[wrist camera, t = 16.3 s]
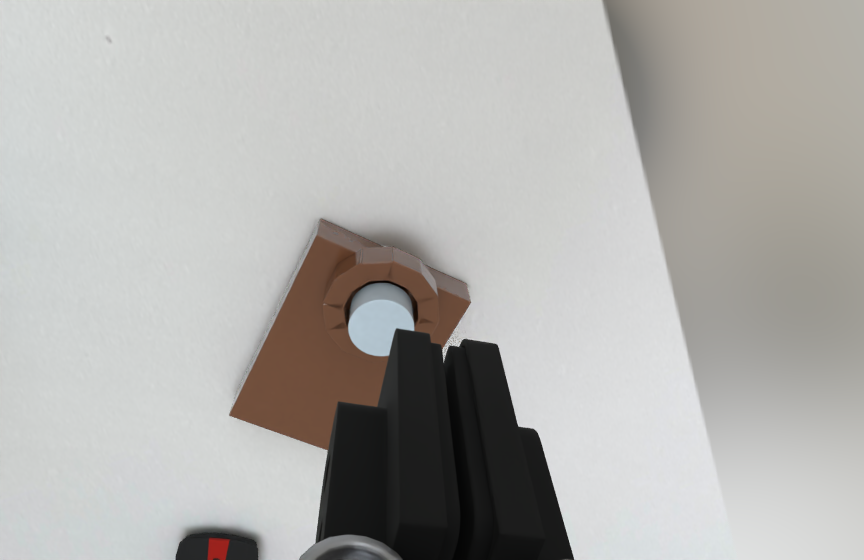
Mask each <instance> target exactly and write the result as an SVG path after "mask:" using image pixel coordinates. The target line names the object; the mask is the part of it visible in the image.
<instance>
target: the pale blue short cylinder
mask: <svg viewBox="0 0 864 560" xmlns="http://www.w3.org/2000/svg"><path fill="white" fill-rule="evenodd" d="M396 328H399V329H405V330H411V331H414V314H413V305H412V302H411V299H410V297H409V296H408V295H407V293H406V292H405V291H404V290H402V289H401V288H399V287H398V286H396V285H393V284H389V283H373V284H370V285H367V286H365V287H363V288H362V289H360V290H359V291H358V292H357V293H356V294H355V296H354V297H353V299H352V301H351V304H350V311H349V322H348V332H349V336H350V338H351V340H352V342H353V343H354V345H355V346H356V347H357V348H359V349H360V350H361V351H363V352H365V353H367V354H370V355H374V356H389V353H390V349H391V344H392V340H393V336H394V333H395V330H396Z"/></svg>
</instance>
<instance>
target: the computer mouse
mask: <svg viewBox="0 0 864 560" xmlns="http://www.w3.org/2000/svg"><path fill="white" fill-rule="evenodd" d="M176 560H258V548H257V544H256V542H255V541H254V540H251V539H248V538H244V537H240V536H236V535H229V534H222V533H205V534H194V535H190V536H187V537H186V538H184V539H183V541H181V542H180V544H179V547H178V550H177V554H176Z"/></svg>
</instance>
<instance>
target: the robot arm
mask: <svg viewBox="0 0 864 560" xmlns="http://www.w3.org/2000/svg"><path fill="white" fill-rule="evenodd" d="M299 560H574V557H573V554H572V550H571V547H570V543H569V540H568V536H567V533H566V529H565V525H564V522H563V518H562V515H561V511H560V508H559V504H558V501H557V497H556V494H555V490H554V487H553V483H552V480H551V476H550V472H549V469H548V465H547V462H546V458H545V455H544V451H543V448H542V444H541V441H540V438H539V435H538V433H537V432H536V431H535V430H534V429H530V428H523V427H518V425H517V421H516V416H515V412H514V408H513V404H512V400H511V396H510V392H509V388H508V384H507V380H506V376H505V372H504V368H503V364H502V360H501V356H500V352H499V348H498V345H497V344H493V343H487V342H480V341H474V340H468V339H464V340H462V342H461V344H460V347H456V346H449V348H448V350H447V354H446V357H445V361H444V363H443V355H442V347H441V344H437V343H431V338H430V334H429V333H424V332H418V331H411V330H405V329H399V328H396V330H395V333H394V336H393V340H392V344H391V349H390V353H389V357H388V362H387V366H386V370H385V375H384V379H383V384H382V388H381V392H380V397H379V401H378V405H377V407H375V406H367V405H360V404H353V403H346V402H339V401H338V403H337V407H336V411H335V416H334V421H333V427H332V432H331V437H330V442H329V448H328V454H327V460H326V466H325V472H324V479H323V486H322V494H321V502H320V510H319V518H318V526H317V534H316V543H315V544H314V545H313V546H312V547H310V548H309V549H308V550H307V551H306V552H305V553H304V554H303V555H302V556H301V557H300V559H299Z"/></svg>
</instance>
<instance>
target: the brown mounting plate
mask: <svg viewBox="0 0 864 560" xmlns="http://www.w3.org/2000/svg"><path fill="white" fill-rule="evenodd" d="M373 283H389V284H393V285H396V286H398V287H399V288H401V289H402V290H404V291H405V292H406V293H407V295H408V296H409V297H410V299H411V302H412V305H413V314H414V331H418V332H424V333H429V334H430V338H431V343H437V344H441V347H442V349H443V347H444V345H445V344H446V342H447V341H448V339H449V337H450V336H451V334H452V332H453V331H454V329H455V328H456V326H457V324H458V323H459V321H460V320H461V318H462V316H463V315H464V313H465V311H466V310H467V308H468V307H469V305H470V303H471V300H470V296H469V292H468V288H467V284H466V283H464V282H462V281H459V280H457V279H455V278H453V277H450V276H448V275H446V274H444V273H441V272H439V271H437V270H435V269H433V268H430V267H428V266H426V265H424V264H423V262H422V261H421V259H419V258H418V257H415V256H413V255H411V254H409V253H407V252H404V251H402V250H400V249H398V248H395V247H383V246H381V245H379V244H377V243H374V242H372V241H370V240H368V239H365V238H363V237H361V236H359V235H356V234H354V233H352V232H350V231H347V230H345V229H343V228H341V227H339V226H336V225H334V224H332V223H330V222H327V221H325V220H323V219H320V220H319V222H318V224H317V226H316V228H315V230H314V232H313V234H312V237H311V239H310V241H309V243H308V245H307V247H306V249H305V251H304V253H303V255H302V257H301V259H300V261H299V263H298V266H297V268H296V270H295V272H294V274H293V276H292V278H291V280H290V282H289V284H288V286H287V288H286V290H285V292H284V295H283V297H282V299H281V301H280V303H279V305H278V307H277V309H276V311H275V313H274V315H273V317H272V319H271V321H270V324H269V326H268V328H267V330H266V332H265V334H264V336H263V338H262V340H261V342H260V344H259V346H258V348H257V350H256V353H255V355H254V357H253V359H252V361H251V363H250V365H249V367H248V369H247V371H246V373H245V375H244V377H243V379H242V382H241V384H240V386H239V388H238V390H237V392H236V395H235V398H234V401H233V404H232V407H231V410H230V413H229V416H232V417H234V418H237V419H240V420H243V421H246V422H249V423H252V424H254V425H257V426H260V427H263V428H266V429H269V430H271V431H274V432H277V433H280V434H283V435H286V436H288V437H291V438H294V439H297V440H300V441H303V442H306V443H308V444H311V445H314V446H317V447H320V448H323V449H325V450H328V448H329V442H330V437H331V432H332V427H333V421H334V416H335V411H336V407H337V403H338V401H339V402H346V403H353V404H360V405H367V406H375V407H377V405H378V401H379V397H380V392H381V388H382V384H383V379H384V375H385V370H386V366H387V362H388V357H389V356H374V355H370V354H367V353H365V352H363V351H361V350H360V349H359V348H357V347H356V346H355V345H354V343H353V342H352V340H351V338H350V336H349V332H348V322H349V311H350V304H351V301H352V299H353V297H354V296H355V294H356V293H357V292H358V291H359V290H360V289H362V288H363V287H365V286H367V285H370V284H373Z"/></svg>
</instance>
